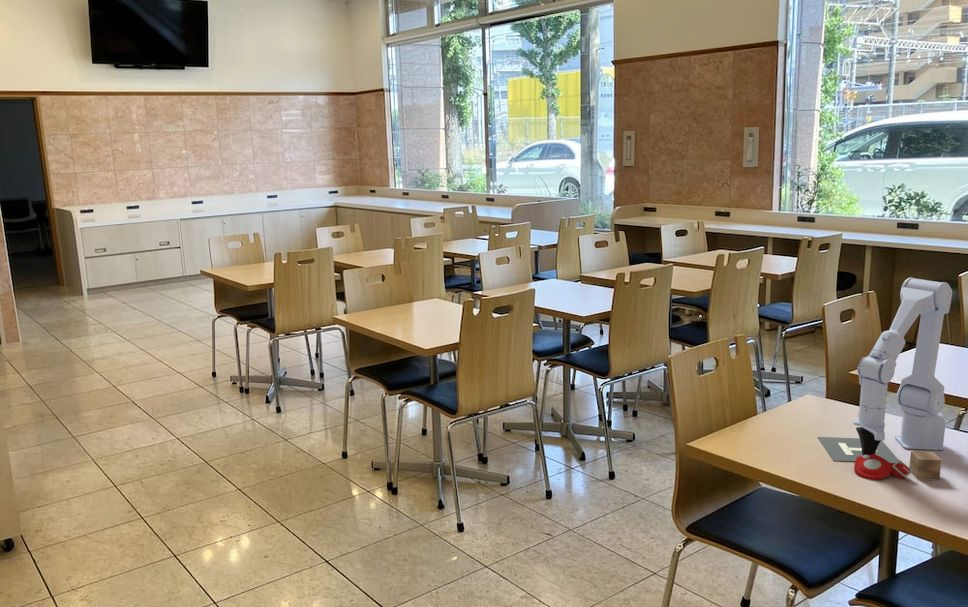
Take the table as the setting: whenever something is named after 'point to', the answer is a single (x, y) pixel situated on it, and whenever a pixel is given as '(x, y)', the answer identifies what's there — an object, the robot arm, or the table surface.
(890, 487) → the table surface
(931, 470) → the walnut cube
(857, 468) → the tracker holder
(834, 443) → the letter mat
